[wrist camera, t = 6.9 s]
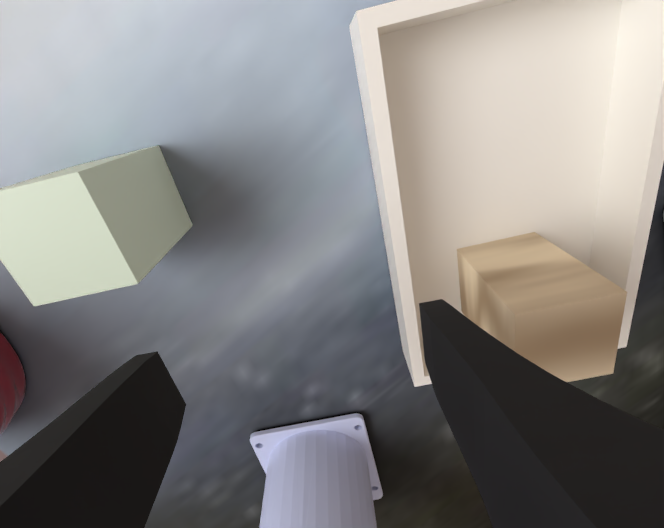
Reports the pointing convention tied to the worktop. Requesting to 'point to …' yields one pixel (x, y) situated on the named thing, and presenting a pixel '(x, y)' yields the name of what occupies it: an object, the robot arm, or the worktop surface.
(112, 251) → the sage block
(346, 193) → the worktop surface
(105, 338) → the worktop surface
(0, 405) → the canister
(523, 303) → the maple block
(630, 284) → the serving tray
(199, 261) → the worktop surface
